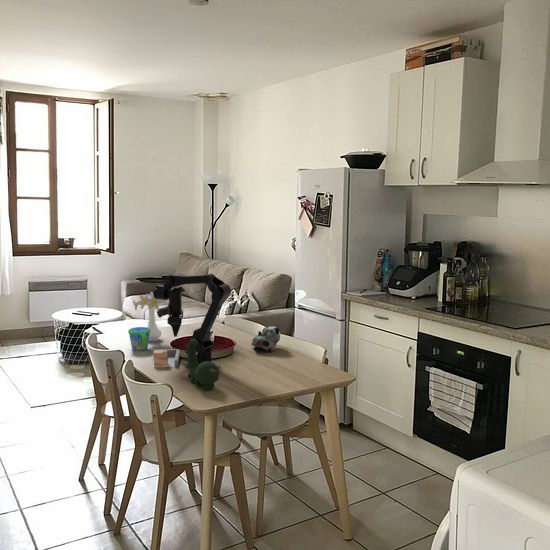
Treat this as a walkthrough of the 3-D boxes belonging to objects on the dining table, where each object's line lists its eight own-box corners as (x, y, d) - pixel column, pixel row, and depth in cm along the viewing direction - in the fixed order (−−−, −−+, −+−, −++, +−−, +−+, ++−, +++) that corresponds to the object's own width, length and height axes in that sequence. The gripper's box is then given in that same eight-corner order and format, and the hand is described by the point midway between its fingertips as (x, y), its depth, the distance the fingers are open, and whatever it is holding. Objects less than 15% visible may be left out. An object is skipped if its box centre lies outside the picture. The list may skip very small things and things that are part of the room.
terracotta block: (154, 363, 279) (154, 350, 278) (168, 363, 280) (167, 349, 279) (153, 366, 275) (153, 352, 274) (167, 365, 276) (167, 352, 275)
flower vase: (130, 339, 322) (128, 292, 318) (164, 335, 331) (162, 289, 327) (138, 345, 311) (136, 296, 307) (172, 340, 320) (171, 293, 316)
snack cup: (154, 352, 299) (153, 332, 297) (132, 355, 294) (131, 334, 293) (147, 344, 313) (146, 324, 311) (126, 346, 309) (125, 326, 307)
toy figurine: (180, 382, 260) (205, 395, 239) (178, 338, 259) (202, 347, 237) (201, 379, 265) (227, 391, 244) (198, 335, 263) (224, 343, 242)
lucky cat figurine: (251, 345, 311) (263, 320, 312) (273, 355, 310) (285, 330, 311) (248, 344, 296) (261, 318, 297) (271, 355, 295) (283, 329, 296)
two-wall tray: (179, 355, 293) (179, 349, 292) (177, 367, 275) (177, 360, 275) (153, 356, 292) (153, 349, 291) (150, 368, 274) (149, 361, 273)
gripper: (159, 297, 292) (160, 329, 294) (155, 305, 273) (156, 339, 276) (183, 297, 293) (183, 329, 295) (180, 305, 274) (181, 339, 277)
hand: (176, 334), depth 286 cm, fingers open, 9 cm apart
